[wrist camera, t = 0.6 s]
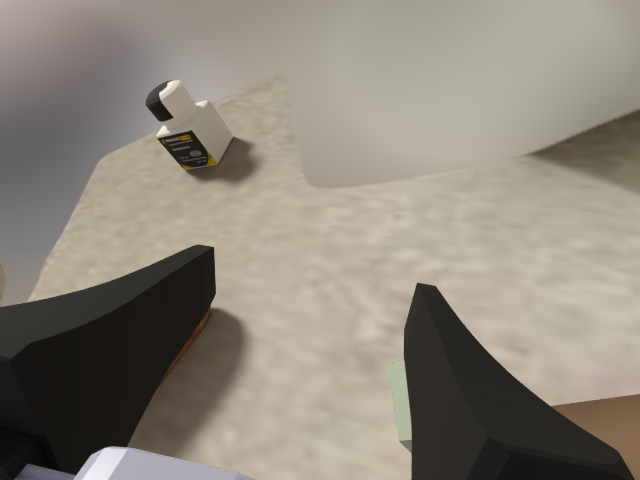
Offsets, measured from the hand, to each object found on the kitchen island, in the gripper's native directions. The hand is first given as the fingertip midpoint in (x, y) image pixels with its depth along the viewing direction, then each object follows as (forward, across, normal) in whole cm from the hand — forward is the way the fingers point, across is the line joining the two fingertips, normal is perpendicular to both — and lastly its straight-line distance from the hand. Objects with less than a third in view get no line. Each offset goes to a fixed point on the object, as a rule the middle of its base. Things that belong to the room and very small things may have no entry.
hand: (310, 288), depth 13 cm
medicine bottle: (+46, +25, +11) cm, 54 cm away
